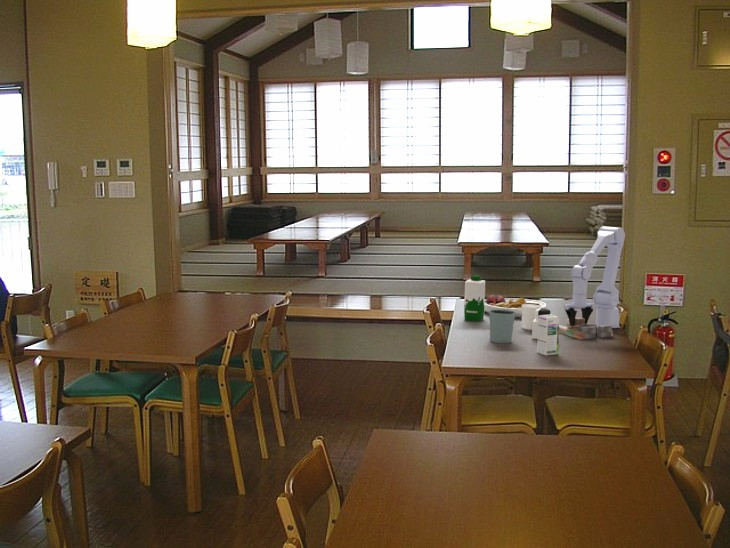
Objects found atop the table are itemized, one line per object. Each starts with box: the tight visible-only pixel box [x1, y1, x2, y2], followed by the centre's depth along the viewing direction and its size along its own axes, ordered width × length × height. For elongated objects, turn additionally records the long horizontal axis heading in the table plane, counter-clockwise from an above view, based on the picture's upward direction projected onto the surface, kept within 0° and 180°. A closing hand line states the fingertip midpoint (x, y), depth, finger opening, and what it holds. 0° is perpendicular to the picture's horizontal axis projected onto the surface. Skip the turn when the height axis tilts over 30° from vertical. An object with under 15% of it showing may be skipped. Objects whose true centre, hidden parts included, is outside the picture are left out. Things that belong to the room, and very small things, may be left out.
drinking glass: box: [488, 310, 516, 344], centre depth 324 cm, size 10×10×12 cm
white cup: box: [521, 304, 540, 331], centre depth 350 cm, size 8×8×10 cm
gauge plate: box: [566, 322, 598, 335], centre depth 336 cm, size 15×7×4 cm, turn 114°
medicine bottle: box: [531, 308, 551, 340], centre depth 331 cm, size 7×7×12 cm
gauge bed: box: [559, 318, 614, 340], centre depth 345 cm, size 17×28×5 cm, turn 24°
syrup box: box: [536, 313, 560, 356], centre depth 303 cm, size 6×6×14 cm
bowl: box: [484, 294, 547, 319], centre depth 387 cm, size 30×30×8 cm
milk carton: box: [463, 274, 486, 323], centre depth 367 cm, size 9×9×20 cm
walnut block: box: [570, 316, 585, 330], centre depth 345 cm, size 4×4×6 cm
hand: (578, 325), depth 344 cm, fingers open, 6 cm apart
